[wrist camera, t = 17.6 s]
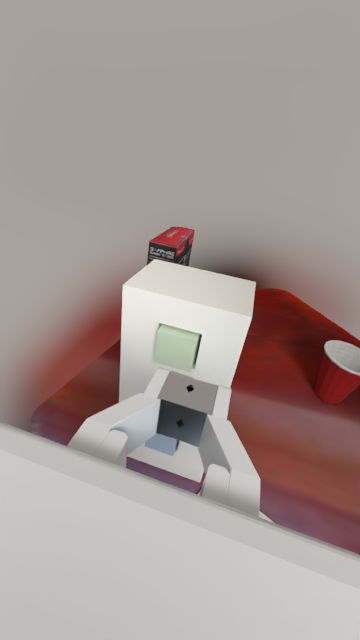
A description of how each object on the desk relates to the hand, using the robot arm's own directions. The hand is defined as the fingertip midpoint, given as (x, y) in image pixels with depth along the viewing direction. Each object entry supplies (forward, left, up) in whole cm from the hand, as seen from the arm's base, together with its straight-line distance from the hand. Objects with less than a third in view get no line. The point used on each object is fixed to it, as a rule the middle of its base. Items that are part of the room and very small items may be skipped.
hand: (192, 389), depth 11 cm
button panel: (-14, -17, -35) cm, 42 cm away
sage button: (-12, -15, -13) cm, 23 cm away
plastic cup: (-53, -9, -35) cm, 65 cm away
